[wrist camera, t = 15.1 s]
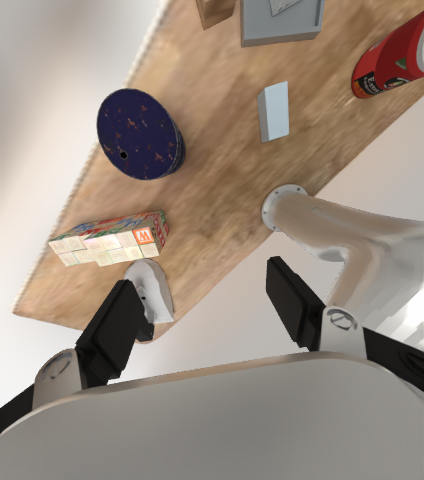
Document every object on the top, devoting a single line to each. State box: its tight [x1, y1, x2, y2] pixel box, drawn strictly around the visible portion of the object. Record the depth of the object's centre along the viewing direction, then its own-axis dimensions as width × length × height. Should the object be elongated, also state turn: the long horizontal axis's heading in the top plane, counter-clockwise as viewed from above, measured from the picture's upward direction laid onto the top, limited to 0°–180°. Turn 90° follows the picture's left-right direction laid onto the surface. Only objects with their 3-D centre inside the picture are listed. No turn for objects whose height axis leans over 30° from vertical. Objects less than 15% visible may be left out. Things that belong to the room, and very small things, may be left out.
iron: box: [123, 258, 174, 342], centre depth 43 cm, size 11×24×15 cm, turn 5°
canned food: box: [352, 11, 424, 98], centre depth 25 cm, size 8×8×11 cm
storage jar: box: [97, 88, 185, 180], centre depth 26 cm, size 10×10×15 cm
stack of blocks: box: [48, 210, 169, 266], centre depth 34 cm, size 21×6×12 cm, turn 99°
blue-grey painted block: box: [257, 81, 289, 143], centre depth 30 cm, size 8×4×4 cm, turn 15°
